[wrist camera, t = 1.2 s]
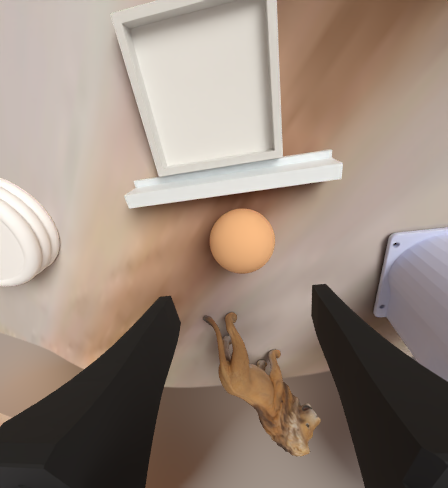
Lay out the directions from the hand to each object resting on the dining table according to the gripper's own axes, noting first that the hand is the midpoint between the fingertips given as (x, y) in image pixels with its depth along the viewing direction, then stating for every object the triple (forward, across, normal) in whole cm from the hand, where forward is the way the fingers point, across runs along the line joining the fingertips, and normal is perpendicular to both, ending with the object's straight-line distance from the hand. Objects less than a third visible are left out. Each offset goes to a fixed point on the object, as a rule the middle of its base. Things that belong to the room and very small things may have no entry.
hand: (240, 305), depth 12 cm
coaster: (+10, +22, -3) cm, 24 cm away
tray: (+9, +1, -10) cm, 14 cm away
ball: (+9, 0, 0) cm, 9 cm away
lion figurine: (+10, 0, +16) cm, 18 cm away
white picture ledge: (+9, 0, -4) cm, 10 cm away
